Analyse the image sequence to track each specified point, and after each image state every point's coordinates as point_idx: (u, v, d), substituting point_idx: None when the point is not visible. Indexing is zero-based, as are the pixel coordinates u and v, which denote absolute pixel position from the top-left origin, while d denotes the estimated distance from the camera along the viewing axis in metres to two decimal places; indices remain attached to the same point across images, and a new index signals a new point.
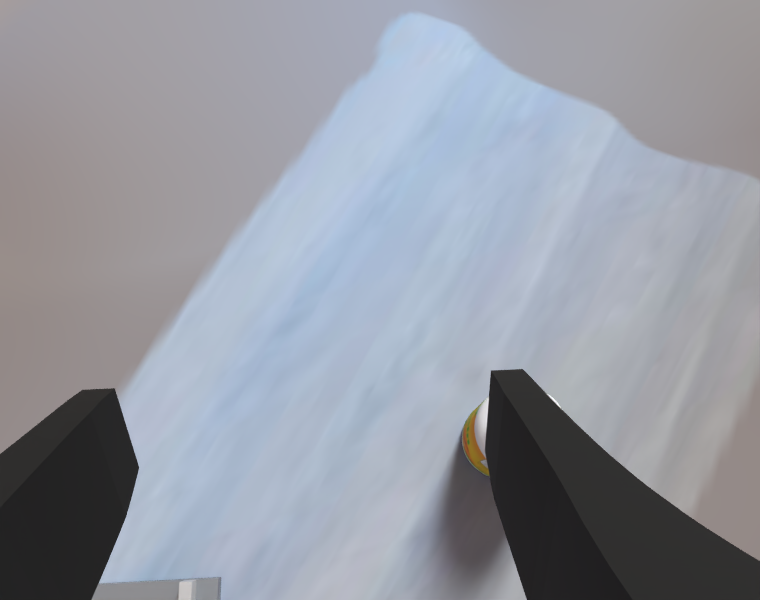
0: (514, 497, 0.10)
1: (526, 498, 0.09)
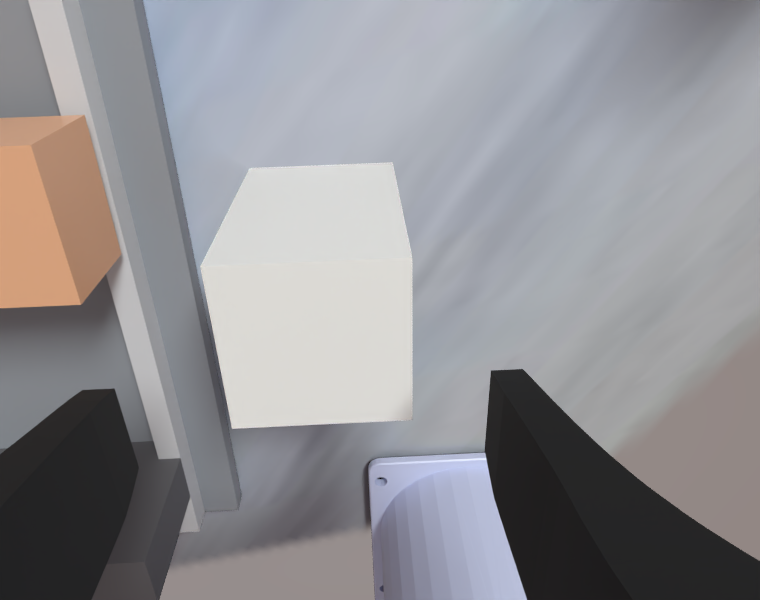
0: (514, 497, 0.10)
1: (526, 498, 0.09)
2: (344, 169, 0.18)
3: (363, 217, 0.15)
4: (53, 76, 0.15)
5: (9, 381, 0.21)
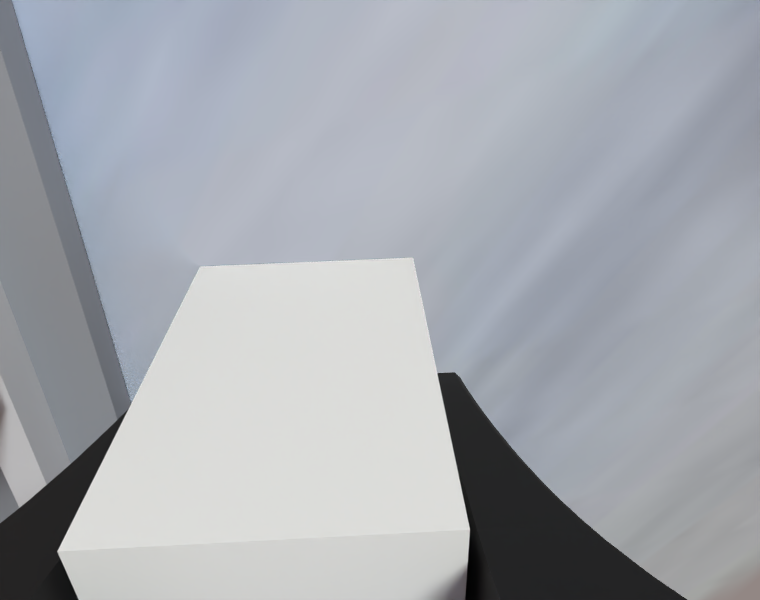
0: None
1: None
2: (341, 273, 0.12)
3: (372, 396, 0.09)
4: None
5: None
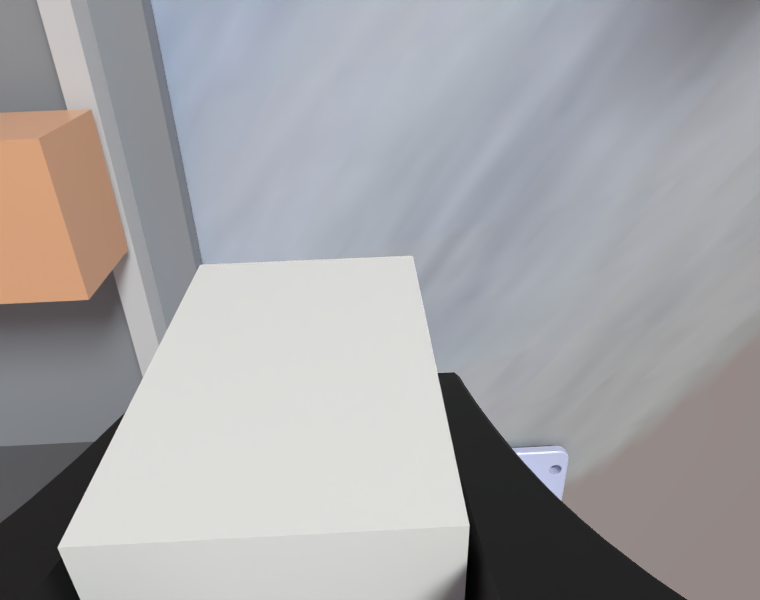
0: None
1: None
2: (341, 271, 0.12)
3: (372, 394, 0.09)
4: (60, 70, 0.15)
5: (15, 378, 0.21)
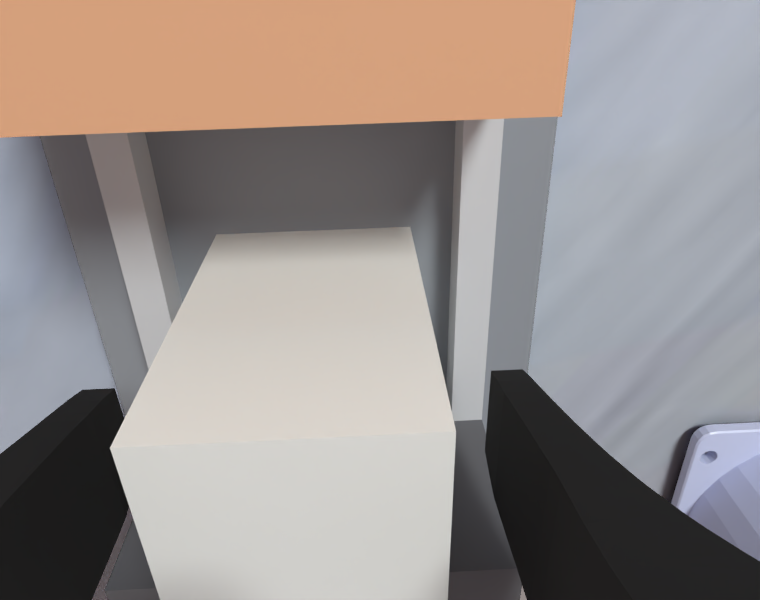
0: (514, 497, 0.10)
1: (526, 498, 0.09)
2: (345, 239, 0.13)
3: (373, 336, 0.10)
4: None
5: None
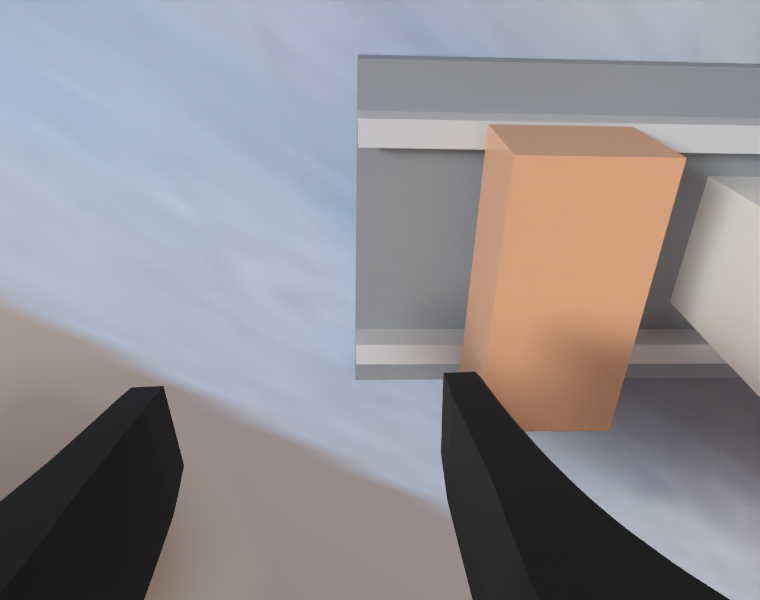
0: (462, 500, 0.10)
1: (470, 501, 0.09)
2: (703, 228, 0.19)
3: None
4: (450, 145, 0.17)
5: None
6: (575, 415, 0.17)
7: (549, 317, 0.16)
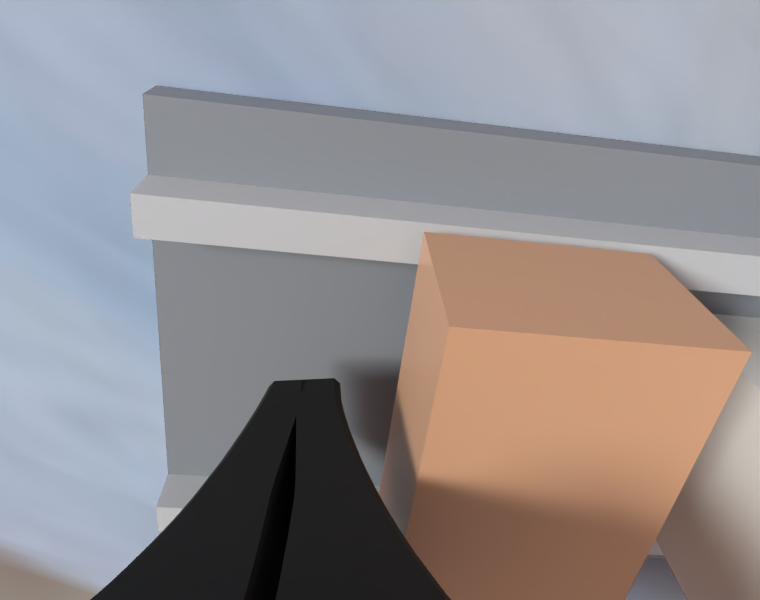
0: None
1: None
2: None
3: None
4: (285, 247, 0.10)
5: None
6: None
7: (495, 560, 0.10)
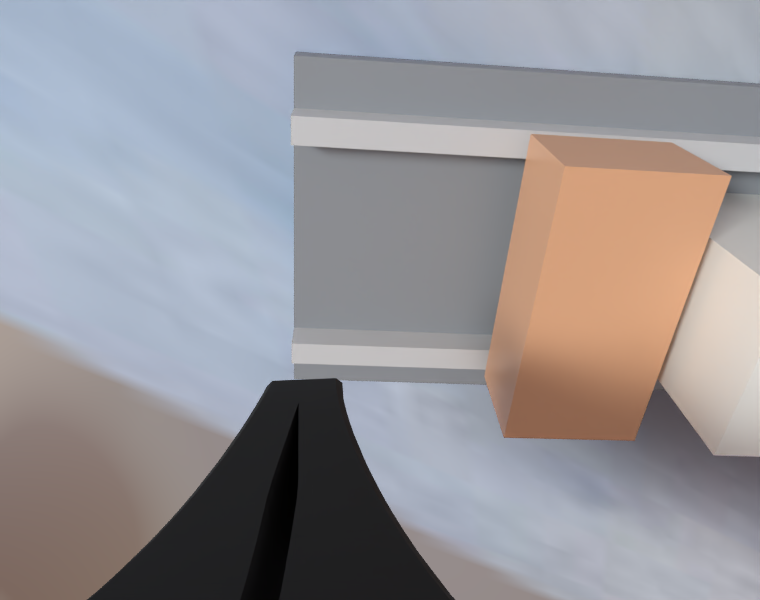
0: None
1: None
2: None
3: (711, 285, 0.15)
4: (384, 147, 0.17)
5: None
6: (602, 424, 0.18)
7: (586, 327, 0.16)
